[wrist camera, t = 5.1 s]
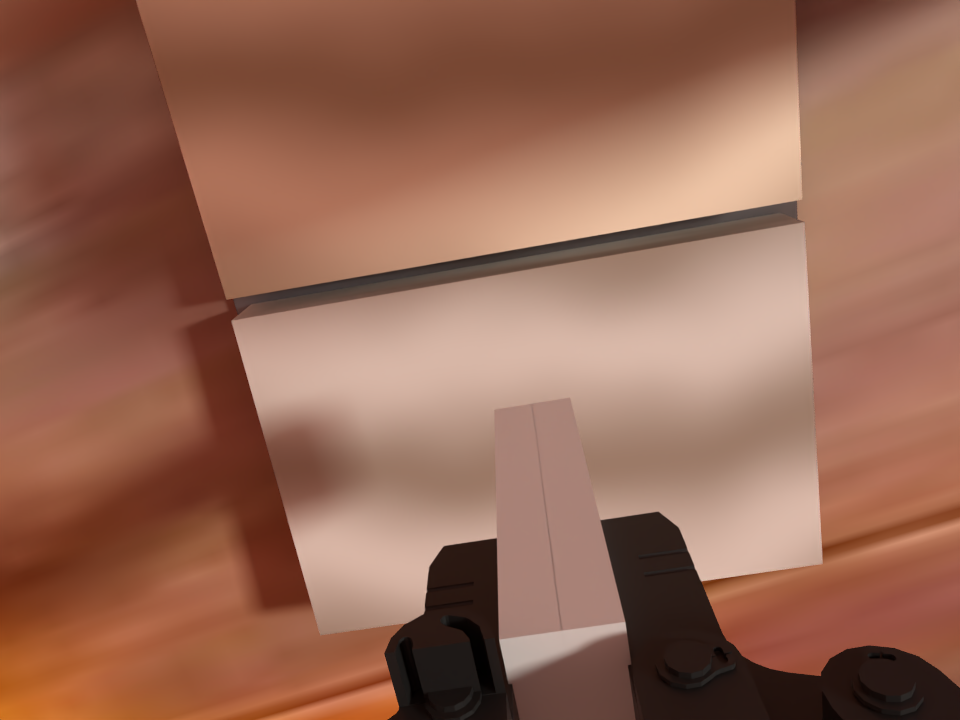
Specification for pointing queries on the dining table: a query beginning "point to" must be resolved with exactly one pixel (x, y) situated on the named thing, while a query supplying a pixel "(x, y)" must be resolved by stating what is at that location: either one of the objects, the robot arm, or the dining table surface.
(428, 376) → the plank
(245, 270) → the floor board
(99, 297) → the dining table surface
